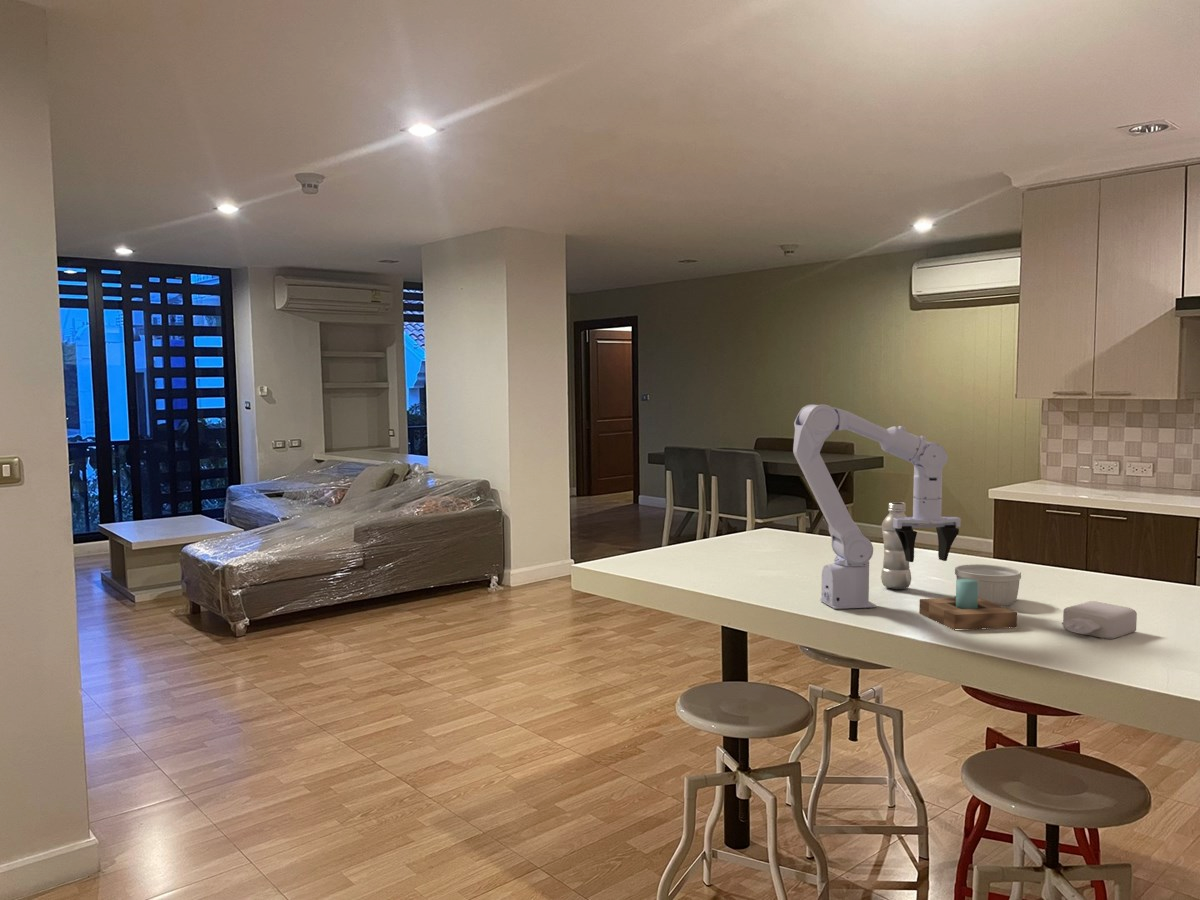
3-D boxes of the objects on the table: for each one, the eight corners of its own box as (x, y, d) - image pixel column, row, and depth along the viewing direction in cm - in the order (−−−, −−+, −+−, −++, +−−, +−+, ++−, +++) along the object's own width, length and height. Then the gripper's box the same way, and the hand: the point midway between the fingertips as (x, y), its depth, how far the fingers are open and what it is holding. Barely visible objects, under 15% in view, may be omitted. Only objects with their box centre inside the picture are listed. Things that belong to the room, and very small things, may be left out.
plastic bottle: (913, 592, 195) (914, 505, 194) (882, 591, 196) (883, 504, 195) (908, 586, 201) (910, 502, 200) (878, 585, 202) (880, 501, 201)
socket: (954, 630, 163) (954, 614, 162) (919, 613, 175) (919, 599, 175) (1016, 627, 164) (1017, 612, 164) (977, 611, 177) (978, 596, 177)
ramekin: (942, 599, 188) (943, 568, 187) (971, 591, 196) (972, 561, 196) (1003, 611, 177) (1004, 578, 177) (1031, 601, 186) (1032, 570, 185)
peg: (962, 623, 168) (963, 583, 167) (951, 618, 172) (952, 579, 171) (981, 622, 168) (982, 582, 168) (969, 617, 172) (970, 578, 172)
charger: (1045, 635, 160) (1085, 623, 168) (1097, 646, 152) (1136, 633, 161) (1046, 610, 160) (1086, 599, 168) (1098, 620, 152) (1137, 609, 161)
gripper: (904, 500, 177) (903, 565, 178) (969, 499, 179) (968, 563, 180) (888, 496, 184) (887, 559, 185) (951, 495, 186) (949, 557, 187)
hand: (926, 560), depth 183 cm, fingers open, 7 cm apart
